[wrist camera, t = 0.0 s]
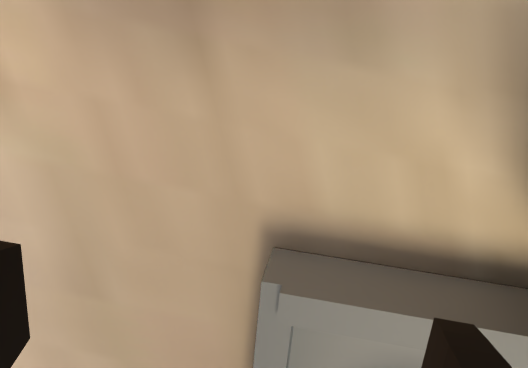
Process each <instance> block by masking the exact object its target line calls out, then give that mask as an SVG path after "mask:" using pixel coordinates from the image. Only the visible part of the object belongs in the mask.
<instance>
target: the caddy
mask: <svg viewBox="0 0 528 368" xmlns="http://www.w3.org/2000/svg"><path fill="white" fill-rule="evenodd" d="M434 318H440V319H446V320H451V321H457V322H463V323H468V324H474V325H475V326H476V327H477V328H478V329H479V330H480V331H481V333H482V334H483V335H484V336H485V337H486V338H487V339H488V340H489V341H490V343H491V344H492V345H493V346H494V347H495V348H496V349H497V351H498V352H499V353H500V354H501V355H502V356H503V358H504V359H505V360H506V361H507V362H508V363H509V364H510V366H511V367H512V368H528V289H524V288H518V287H512V286H506V285H500V284H494V283H487V282H481V281H475V280H469V279H463V278H457V277H451V276H445V275H439V274H432V273H426V272H420V271H414V270H408V269H402V268H396V267H390V266H384V265H377V264H371V263H365V262H359V261H353V260H347V259H341V258H335V257H329V256H322V255H316V254H310V253H304V252H298V251H292V250H286V249H280V248H273V249H272V252H271V255H270V258H269V261H268V264H267V267H266V270H265V273H264V276H263V279H262V282H261V292H260V302H259V312H258V322H257V332H256V342H255V352H254V362H253V368H421V367H422V363H423V359H424V355H425V351H426V347H427V343H428V339H429V336H430V332H431V328H432V324H433V320H434Z"/></svg>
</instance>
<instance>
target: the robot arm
mask: <svg viewBox="0 0 528 368" xmlns="http://www.w3.org/2000/svg"><path fill="white" fill-rule="evenodd" d="M29 339H30V332H29V322H28V313H27V303H26V293H25V283H24V273H23V263H22V253H21V244H16V243H10V242H4V241H0V368H11V366H12V365H13V363H14V362H15V360H16V359H17V357H18V356H19V354H20V353H21V351H22V350H23V348H24V347H25V345H26V344H27V342H28V341H29ZM421 368H512V367H511V366H510V364H509V363H508V362H507V361H506V360H505V359H504V358H503V356H502V355H501V354H500V353H499V352H498V351H497V349H496V348H495V347H494V346H493V345H492V344H491V343H490V341H489V340H488V339H487V338H486V337H485V336H484V335H483V334H482V333H481V331H480V330H479V329H478V328H477V327H476V326H475V325H474V324H468V323H463V322H457V321H451V320H446V319H440V318H434V320H433V324H432V328H431V332H430V336H429V339H428V343H427V347H426V351H425V355H424V359H423V363H422V367H421Z"/></svg>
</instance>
